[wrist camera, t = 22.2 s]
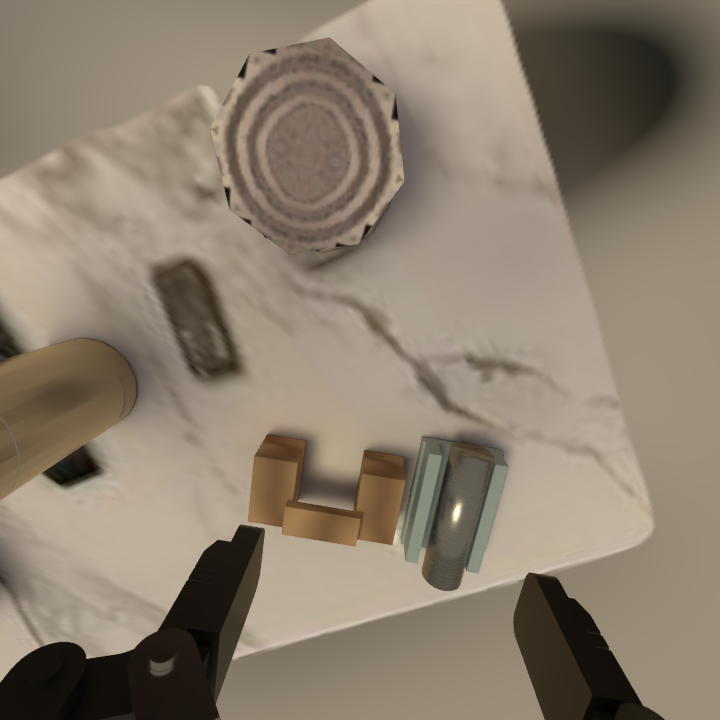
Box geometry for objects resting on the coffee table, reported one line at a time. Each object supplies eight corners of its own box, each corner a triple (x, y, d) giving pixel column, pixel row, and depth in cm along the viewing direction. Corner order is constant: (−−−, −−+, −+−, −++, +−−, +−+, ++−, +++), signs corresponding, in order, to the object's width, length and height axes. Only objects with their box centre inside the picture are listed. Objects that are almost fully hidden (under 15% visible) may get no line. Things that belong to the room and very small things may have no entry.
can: (421, 160, 35) (442, 117, 24) (350, 275, 38) (338, 288, 26) (305, 80, 34) (268, -6, 22) (241, 205, 37) (178, 185, 25)
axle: (456, 563, 44) (465, 593, 40) (419, 558, 44) (424, 588, 40) (487, 445, 41) (500, 466, 37) (447, 439, 41) (455, 459, 37)
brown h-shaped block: (260, 494, 44) (244, 528, 39) (267, 434, 42) (251, 461, 37) (390, 515, 44) (392, 552, 39) (402, 456, 42) (406, 486, 37)
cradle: (400, 537, 45) (402, 560, 41) (422, 436, 42) (426, 453, 38) (473, 549, 45) (481, 573, 42) (500, 449, 42) (511, 467, 38)
